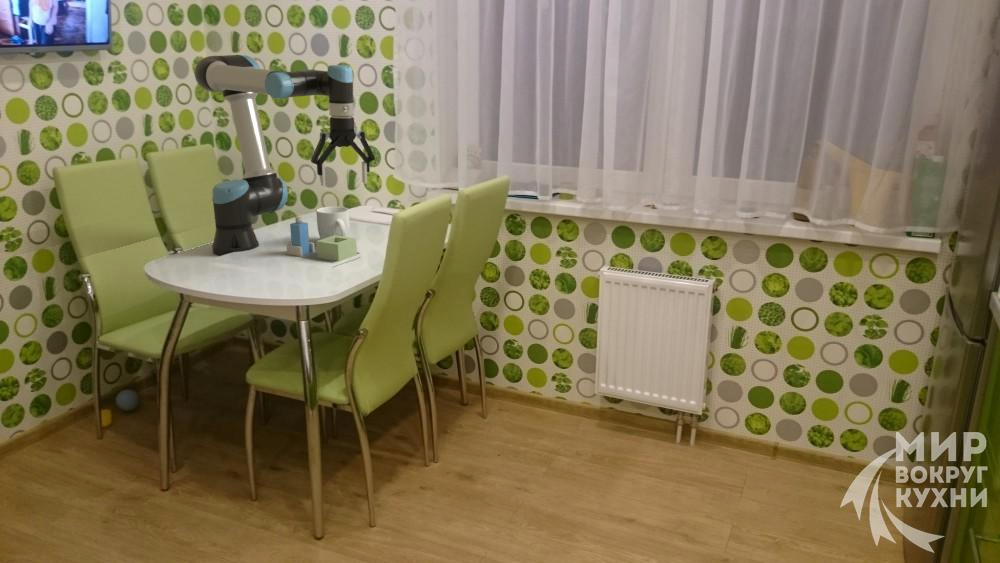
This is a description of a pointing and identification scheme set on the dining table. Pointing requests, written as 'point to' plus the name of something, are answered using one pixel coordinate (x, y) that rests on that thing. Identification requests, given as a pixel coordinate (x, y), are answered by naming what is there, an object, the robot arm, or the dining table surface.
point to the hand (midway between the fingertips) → (344, 184)
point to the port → (336, 248)
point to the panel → (312, 254)
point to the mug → (333, 221)
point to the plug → (300, 235)
